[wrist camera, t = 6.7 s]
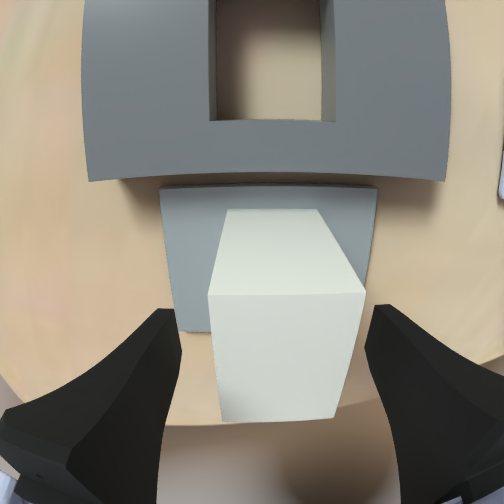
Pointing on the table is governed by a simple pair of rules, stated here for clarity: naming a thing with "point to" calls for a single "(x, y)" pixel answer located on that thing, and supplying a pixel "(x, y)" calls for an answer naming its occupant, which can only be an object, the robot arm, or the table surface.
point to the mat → (250, 197)
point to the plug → (281, 316)
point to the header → (265, 130)
